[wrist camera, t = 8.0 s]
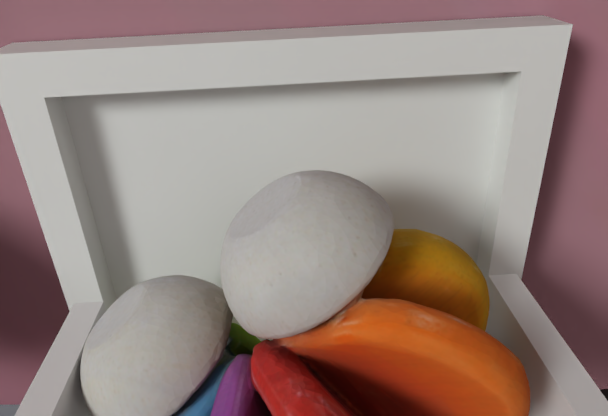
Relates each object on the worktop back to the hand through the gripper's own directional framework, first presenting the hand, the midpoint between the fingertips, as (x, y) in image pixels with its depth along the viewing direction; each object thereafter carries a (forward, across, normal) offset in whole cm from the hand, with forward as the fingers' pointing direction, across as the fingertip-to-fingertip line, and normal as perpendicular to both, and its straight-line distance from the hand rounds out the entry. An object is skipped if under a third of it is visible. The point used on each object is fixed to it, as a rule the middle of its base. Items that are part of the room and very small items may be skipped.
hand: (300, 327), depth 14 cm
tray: (+2, 0, 0) cm, 2 cm away
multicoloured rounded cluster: (+1, 0, 0) cm, 1 cm away
